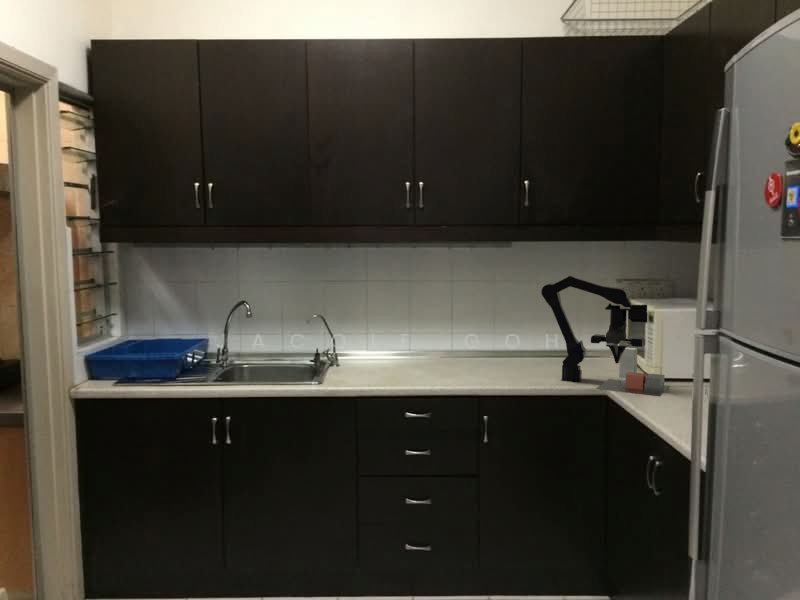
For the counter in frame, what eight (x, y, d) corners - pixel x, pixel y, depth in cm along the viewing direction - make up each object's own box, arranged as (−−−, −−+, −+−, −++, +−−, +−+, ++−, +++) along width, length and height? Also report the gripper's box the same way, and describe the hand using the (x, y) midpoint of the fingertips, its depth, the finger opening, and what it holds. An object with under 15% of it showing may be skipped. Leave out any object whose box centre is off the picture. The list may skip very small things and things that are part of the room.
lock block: (625, 387, 233) (625, 374, 233) (628, 385, 237) (629, 371, 237) (642, 389, 230) (643, 376, 229) (645, 387, 234) (646, 373, 234)
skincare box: (636, 378, 253) (637, 348, 252) (634, 379, 250) (635, 349, 249) (621, 376, 257) (622, 346, 256) (618, 378, 253) (619, 348, 252)
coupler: (595, 390, 231) (595, 375, 231) (609, 380, 248) (609, 366, 248) (659, 398, 220) (660, 382, 219) (669, 387, 237) (670, 372, 236)
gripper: (586, 322, 237) (585, 364, 238) (639, 325, 226) (637, 369, 228) (595, 319, 246) (594, 359, 247) (646, 322, 236) (644, 364, 237)
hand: (617, 363), depth 239 cm, fingers closed
